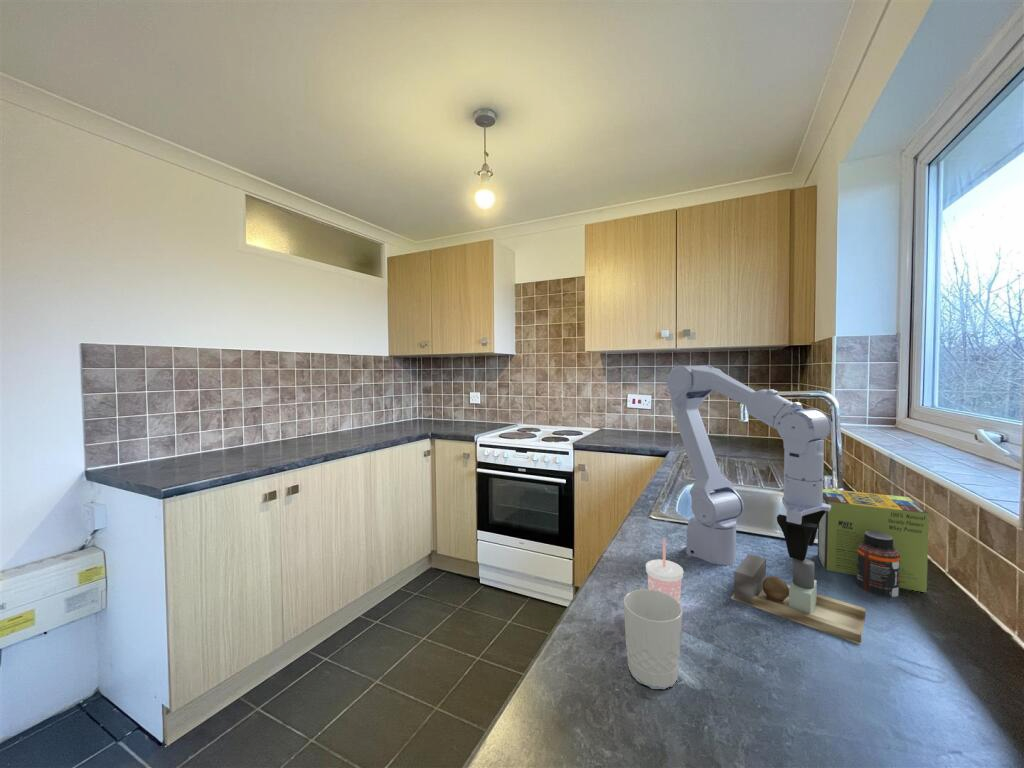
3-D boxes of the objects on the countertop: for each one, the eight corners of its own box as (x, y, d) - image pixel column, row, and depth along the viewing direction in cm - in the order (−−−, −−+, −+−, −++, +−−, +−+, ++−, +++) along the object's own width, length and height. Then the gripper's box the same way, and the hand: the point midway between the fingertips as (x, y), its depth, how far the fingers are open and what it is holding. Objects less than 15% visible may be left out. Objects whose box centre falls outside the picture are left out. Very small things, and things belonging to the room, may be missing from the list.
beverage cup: (648, 604, 74) (648, 529, 74) (684, 613, 72) (684, 535, 71) (643, 624, 69) (642, 543, 68) (682, 634, 66) (682, 549, 66)
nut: (759, 599, 73) (760, 577, 73) (765, 590, 76) (765, 569, 76) (786, 608, 70) (786, 586, 70) (790, 598, 73) (791, 577, 73)
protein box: (928, 594, 76) (931, 513, 75) (825, 575, 83) (827, 501, 83) (906, 569, 85) (909, 496, 84) (816, 554, 92) (817, 487, 92)
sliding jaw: (788, 610, 69) (789, 564, 69) (795, 596, 74) (796, 552, 73) (810, 618, 67) (811, 571, 67) (816, 602, 72) (817, 558, 71)
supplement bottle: (907, 605, 73) (909, 543, 72) (869, 601, 74) (871, 540, 74) (884, 587, 79) (886, 529, 78) (849, 584, 80) (850, 527, 79)
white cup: (640, 645, 64) (640, 583, 63) (691, 671, 58) (691, 603, 58) (613, 672, 58) (612, 604, 58) (666, 704, 53) (666, 629, 52)
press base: (730, 604, 74) (730, 571, 74) (746, 582, 81) (746, 552, 81) (860, 652, 61) (861, 612, 61) (865, 621, 69) (866, 585, 68)
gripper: (824, 491, 65) (822, 574, 66) (837, 472, 75) (835, 544, 76) (772, 482, 70) (771, 559, 71) (791, 466, 80) (790, 533, 81)
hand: (801, 551), depth 73 cm, fingers open, 7 cm apart
